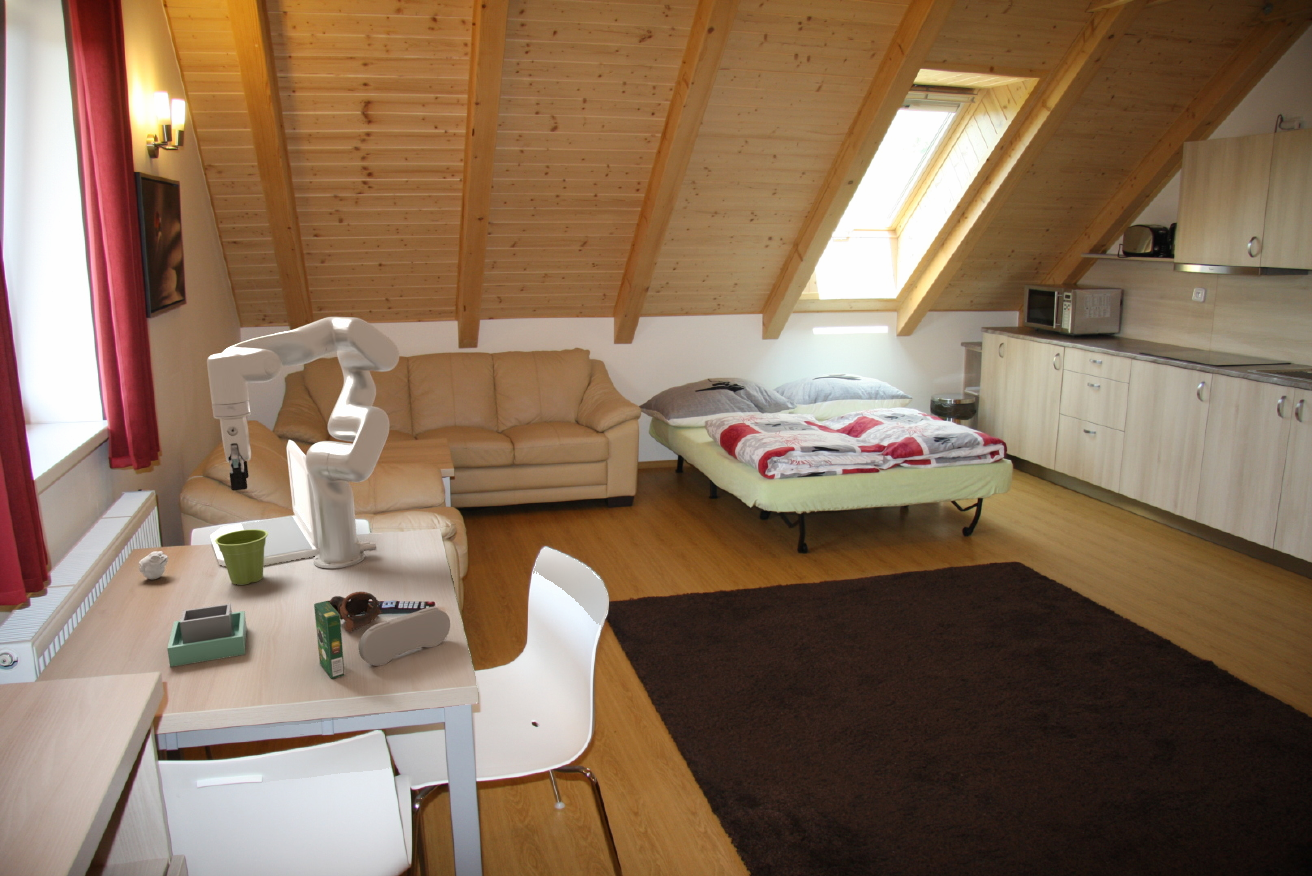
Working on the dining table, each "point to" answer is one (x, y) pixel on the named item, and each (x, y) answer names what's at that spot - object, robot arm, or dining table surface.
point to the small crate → (207, 623)
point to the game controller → (404, 635)
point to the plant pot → (243, 554)
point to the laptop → (286, 519)
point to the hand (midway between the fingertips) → (240, 483)
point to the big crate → (207, 644)
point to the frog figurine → (153, 565)
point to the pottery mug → (356, 609)
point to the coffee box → (329, 639)
